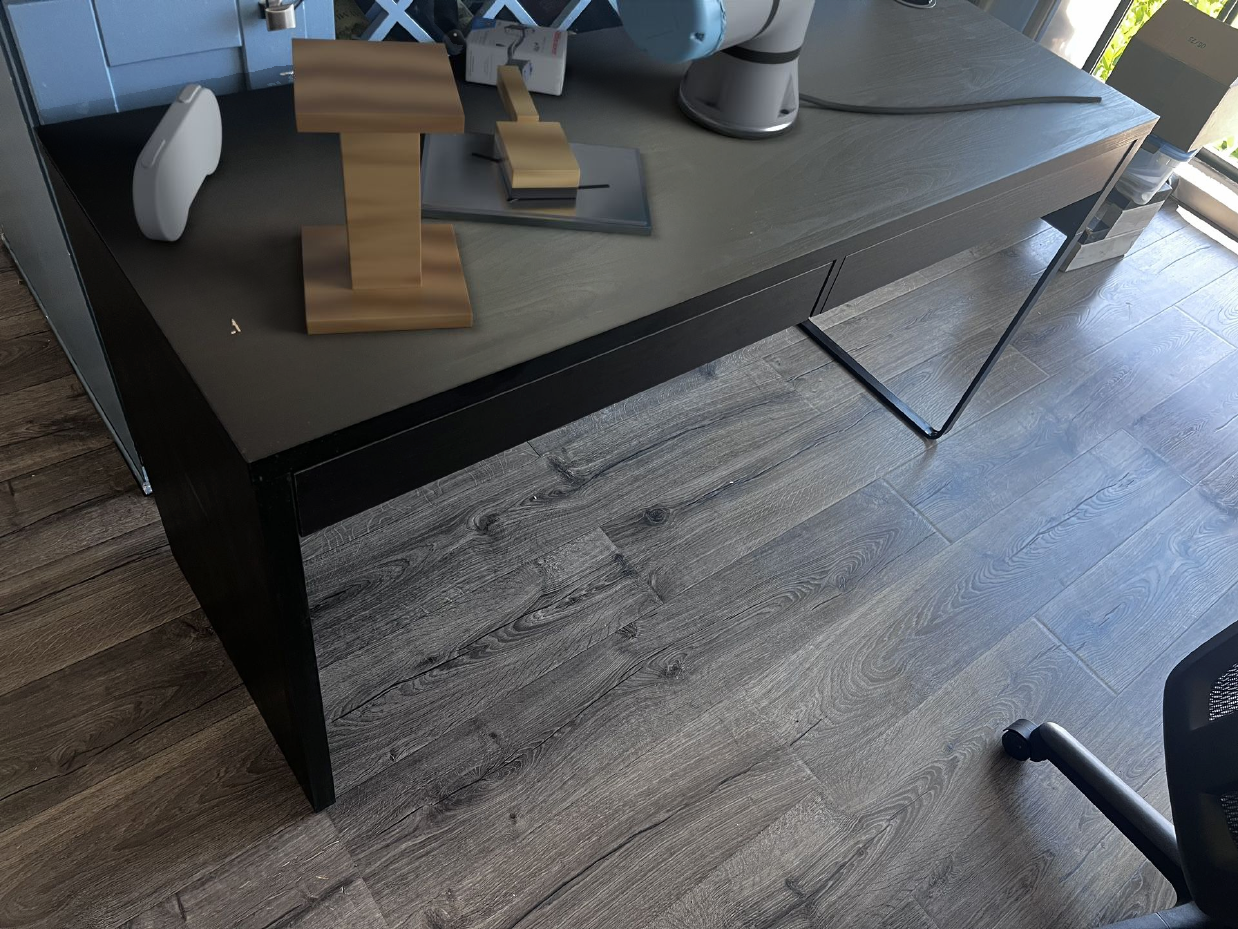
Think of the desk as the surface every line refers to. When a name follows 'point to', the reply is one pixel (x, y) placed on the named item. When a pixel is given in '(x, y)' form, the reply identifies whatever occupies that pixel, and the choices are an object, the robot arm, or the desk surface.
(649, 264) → the desk surface
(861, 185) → the desk surface
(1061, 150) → the desk surface
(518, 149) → the eraser
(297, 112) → the shelf stand
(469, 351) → the desk surface
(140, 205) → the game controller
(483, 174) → the whiteboard
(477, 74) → the ink box
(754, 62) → the robot arm
